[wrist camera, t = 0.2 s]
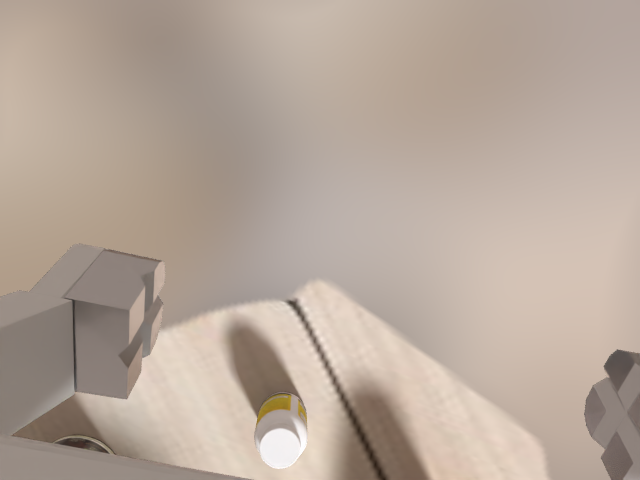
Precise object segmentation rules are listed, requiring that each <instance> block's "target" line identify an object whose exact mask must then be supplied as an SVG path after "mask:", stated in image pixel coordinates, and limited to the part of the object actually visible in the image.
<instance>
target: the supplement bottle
mask: <svg viewBox="0 0 640 480" xmlns="http://www.w3.org/2000/svg"><path fill="white" fill-rule="evenodd" d="M307 437H308V433H307V413H306V409H305V406H304V404H303V402H302V401H301V400H300V399H299V398H298V397H297V396H295V395H293V394H291V393H287V392H278V393H275V394H273V395H271V396H269V397H268V398H267V399H266V400H265V401H264V402H263V404H262V405H261V408H260V410H259V414H258V419H257V423H256V428H255V434H254V440H255V445H256V448H257V450H258V452H259V453H260V456H261V458H262V460H263V461H264V462H265V463H266V464H267V465H269V466H270V467H273V468H277V469H282V468H286V467H289V466H291V465H292V464H293V463H294V462H295V461H296V460H297V458H298V457H299V456H300V455H301V454H302V452H303V451H304V449H305V446H306V443H307Z"/></svg>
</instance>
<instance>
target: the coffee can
mask: <svg viewBox="0 0 640 480" xmlns="http://www.w3.org/2000/svg"><path fill="white" fill-rule="evenodd" d="M52 443H54V444H59V445H65V446H70V447H76V448H81V449H87V450H92V451H97V452H103V453H108V454H113V455H115V454H114V453H113V452H112V450H111V449H109V448H108V447H107V446H106V445H105V444H104V443H102V442H100V441H99V440H96V439H94V438H91V437H88V436H82V435H73V436H67V437H63V438H60V439H58V440H56V441H54V442H52Z"/></svg>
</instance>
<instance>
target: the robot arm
mask: <svg viewBox="0 0 640 480" xmlns="http://www.w3.org/2000/svg"><path fill="white" fill-rule="evenodd" d="M164 283H165V264H164V262H163V261H161V260H156V259H152V258H147V257H142V256H138V255H133V254H128V253H124V252H119V251H114V250H107V249H105V248H101V247H94V246H90V245H84V244H75V245H73V246H72V247H71V248H70V249H69V250H68V251H67V252H66V253H65V254H64V255H63V256H62V257H61V258H60V260H59V261H58V262H57V263H56V264H55V265H54V266H53V267H52V268H51V269H50V270H49V271H48V272H47V273H46V274H45V275H44V276H43V277H42V279H41V280H40V281H39V282H38V283H37V284H36V285H35V286H34V287H33V288H32V289H31V290H30V291H29V292H26V291H21V290H19V291H16V292H13V293H10V294H7V295H4V296H1V297H0V480H252V479H246V478H241V477H235V476H230V475H224V474H219V473H213V472H207V471H202V470H196V469H191V468H185V467H180V466H174V465H169V464H163V463H158V462H152V461H146V460H141V459H135V458H130V457H124V456H119V455H113V454H108V453H103V452H97V451H92V450H87V449H81V448H76V447H70V446H65V445H59V444H54V443H48V442H43V441H37V440H32V439H26V438H21V437H15V436H11V435H12V434H14V433H16V432H17V431H19V430H20V429H22V428H23V427H25V426H26V425H28V424H29V423H31V422H32V421H34V420H36V419H37V418H39V417H40V416H42V415H43V414H45V413H46V412H48V411H49V410H51V409H52V408H54V407H56V406H57V405H59V404H60V403H62V402H63V401H65V400H66V399H68V398H69V397H71V396H72V395H74V394H75V391H76V392H82V393H89V394H95V395H101V396H108V397H114V398H121V399H127V398H128V396H129V394H130V392H131V391H132V389H133V387H134V385H135V383H136V381H137V379H138V377H139V375H140V373H141V365H142V358H144V357H146V356H148V355H150V353H151V351H152V349H153V347H154V345H155V343H156V339H157V336H158V333H159V330H160V326H161V320H162V314H163V302H162V301H161V299H160V297H159V296H158V294H159V292H160V290H161V288H162V286H163V284H164ZM604 370H605V373H606V378H605V379H603V380H601V381H600V382H598V383H596V384H595V385H593V387H592V389H591V391H590V393H589V395H588V397H587V399H586V405H585V413H584V415H585V421H586V426H587V428H588V431H589V433H590V435H591V437H592V438H593V439H594V440H595V441H596V442H597V443H599V444H600V445H601V446H602V447H603V448H604V452H603V454H602V456H601V459H602V461H603V463H604V465H605V468H606V470H607V472H608V474H609V476H610V478H611V480H640V353H635V352H629V351H623V350H616V351H615V352H614V353H613V354H611V355H610V356H609V358H608V360H607V362H606V363H605V365H604Z"/></svg>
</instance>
